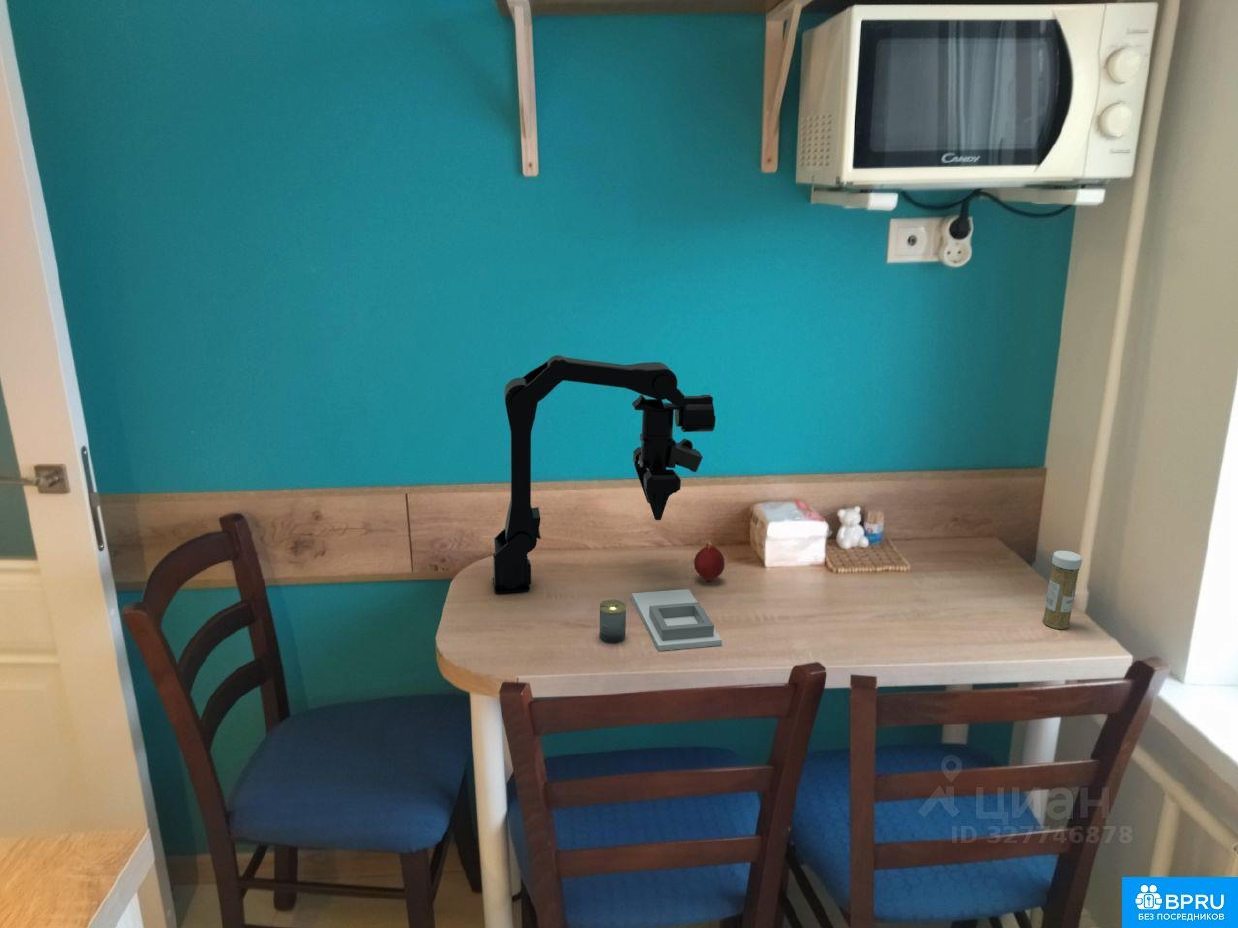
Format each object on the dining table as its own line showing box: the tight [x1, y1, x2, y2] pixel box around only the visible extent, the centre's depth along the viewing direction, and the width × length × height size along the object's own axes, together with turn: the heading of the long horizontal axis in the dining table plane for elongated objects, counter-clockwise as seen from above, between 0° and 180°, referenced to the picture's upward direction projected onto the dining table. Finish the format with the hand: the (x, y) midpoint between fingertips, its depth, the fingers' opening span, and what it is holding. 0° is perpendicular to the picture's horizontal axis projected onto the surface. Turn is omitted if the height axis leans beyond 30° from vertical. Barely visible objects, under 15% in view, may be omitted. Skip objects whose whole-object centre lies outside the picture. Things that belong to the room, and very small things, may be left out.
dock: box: [631, 588, 723, 652], centre depth 163 cm, size 11×20×3 cm, turn 12°
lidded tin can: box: [599, 599, 627, 645], centre depth 156 cm, size 4×4×6 cm
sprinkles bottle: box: [1042, 550, 1083, 630], centre depth 163 cm, size 5×5×13 cm
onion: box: [693, 542, 725, 582], centre depth 178 cm, size 6×6×8 cm
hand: (654, 511), depth 175 cm, fingers open, 9 cm apart
